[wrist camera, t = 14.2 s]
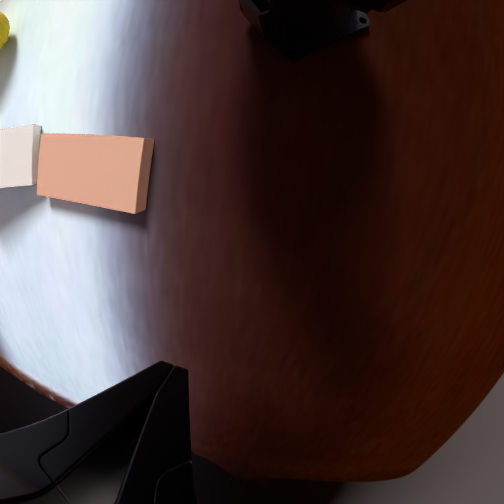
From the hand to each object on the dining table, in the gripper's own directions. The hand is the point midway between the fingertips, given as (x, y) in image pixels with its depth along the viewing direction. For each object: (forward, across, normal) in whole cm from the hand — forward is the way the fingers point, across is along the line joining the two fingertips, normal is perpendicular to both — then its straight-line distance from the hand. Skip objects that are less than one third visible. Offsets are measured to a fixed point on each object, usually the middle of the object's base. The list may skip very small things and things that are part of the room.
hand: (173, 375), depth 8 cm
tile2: (+12, +19, -3) cm, 23 cm away
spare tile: (+12, +8, -3) cm, 15 cm away
